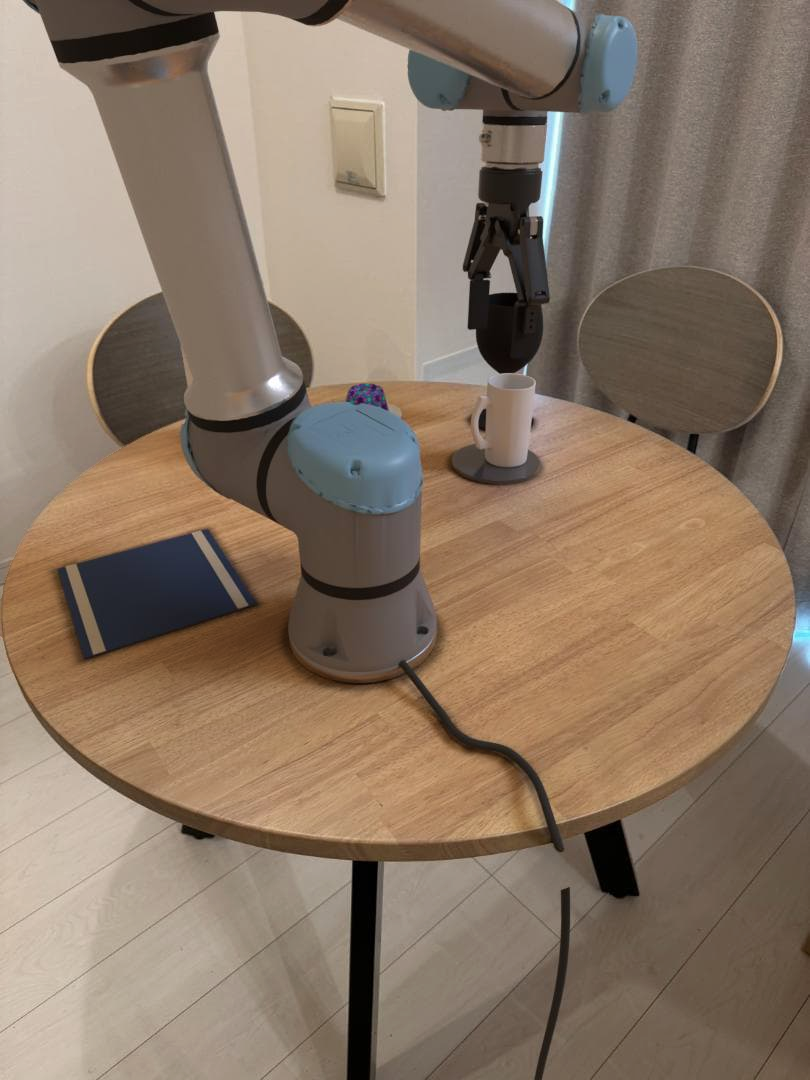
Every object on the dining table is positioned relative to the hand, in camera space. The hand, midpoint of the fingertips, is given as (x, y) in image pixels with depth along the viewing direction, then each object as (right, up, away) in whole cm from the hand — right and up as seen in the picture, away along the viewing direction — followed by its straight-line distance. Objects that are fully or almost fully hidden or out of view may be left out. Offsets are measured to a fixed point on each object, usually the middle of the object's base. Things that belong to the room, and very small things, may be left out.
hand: (498, 342), depth 99 cm
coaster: (+1, -15, +11) cm, 19 cm away
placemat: (-41, -32, -15) cm, 54 cm away
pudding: (-19, -6, +25) cm, 32 cm away
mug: (+1, -15, +10) cm, 18 cm away
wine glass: (+4, -7, +24) cm, 26 cm away
